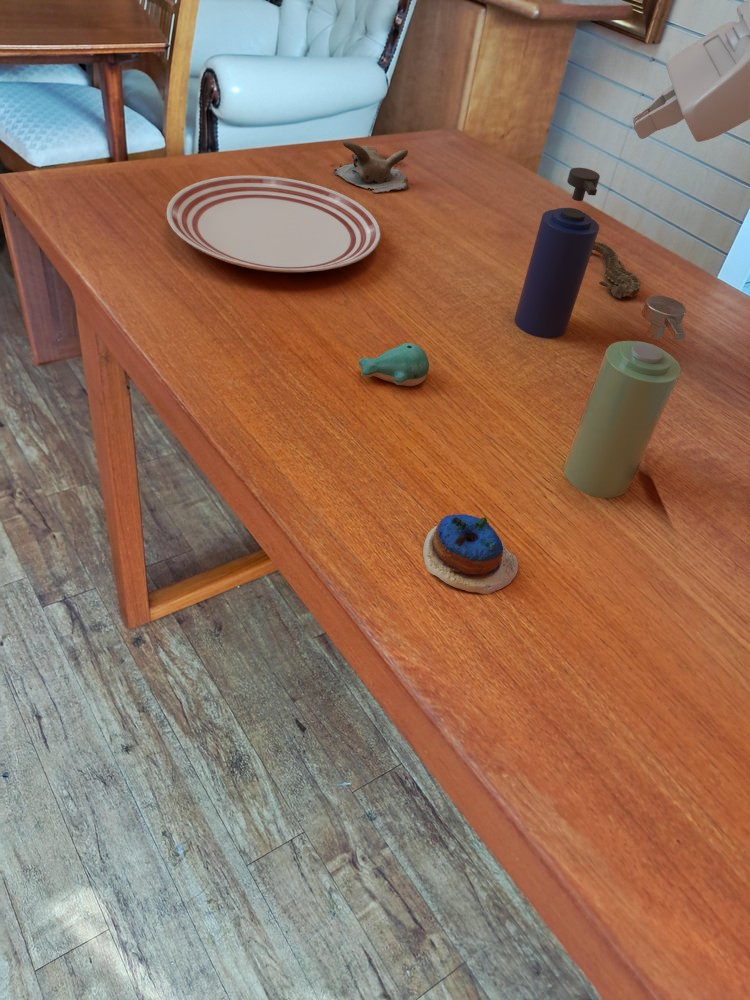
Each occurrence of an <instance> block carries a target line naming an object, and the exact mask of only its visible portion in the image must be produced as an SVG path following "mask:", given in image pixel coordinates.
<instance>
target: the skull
mask: <svg viewBox="0 0 750 1000" xmlns="http://www.w3.org/2000/svg"><path fill="white" fill-rule="evenodd" d="M342 145H343V146H344V147H345V148H346V149H348V150H350V151H351V152H353V153H352V154H351V157H352V159H353V161H352V163H347V164H346V165H342V164H339V165H338V167H337V168H334V169H333V174H334V175H335V176H339V177H341V178H342V179H343V180H344V181H346V182H348V183H350V184H353V185H355V186H358V187H360V188H363V189H365V190H366V189H368V188H370V189H374V190H375V189H378V190H375V191H374V190H372V193H375V194H378V193H382V192H383V193H385V192H390V191H391V190H397V191H398V190H402V189H403V190H407V189H409V185H408V184H407V182H408V180H409V179H408V176H406V175H405V174H403V173H402V172H401V171H400V170H399V169H397V168H396V167H394V166H395V165H397V164H399V162H401V161H403V160H405V158H406V157H407V156H408V153H409V151H408V149H401V150H399V151H396V152H394V153H392V155H390V156H388V158H387V159H384V158H383V157H382V156H381V155H380V154H379V153H378V149H376V148H375V147H373V146H372V145H370V146H369V145H368V144H365V145H362V146H361V145H359V144H357V143H355V142H352V141H344V142H342ZM405 181H406V182H405ZM370 189H369V190H370ZM379 190H380V191H379Z"/></svg>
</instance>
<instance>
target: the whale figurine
mask: <svg viewBox="0 0 750 1000" xmlns="http://www.w3.org/2000/svg"><path fill="white" fill-rule="evenodd" d="M357 364H358V366H359V367H360V369H361V371H360V374H361V376H362V377H364V378H371V377H376V378H378V379H380V380H382V381H385V382H388V383H392V384H395V385H397V386H404V387H414V386H418V385H420V384H421V383H423V382H424V381H425V380H426V379H427V376H428V373H429V369H430V361H429V358H428V355H427V353H426V352H425V350H424V349H423V348H422V347H420V346H419V345H417V344H415V343H412V342H405V343H402V344H401V343H400V344H399V345H398V346H397V345H396V346H395V347H393V348H391V349H388V350H386V351H384V352H382V353H381V354H380V355H378V356H376V357H375V358H371V357H362V358H360V359H358V362H357Z"/></svg>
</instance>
